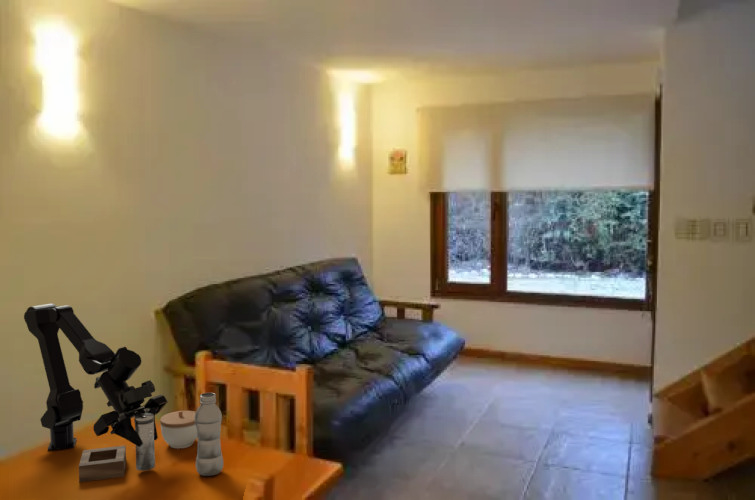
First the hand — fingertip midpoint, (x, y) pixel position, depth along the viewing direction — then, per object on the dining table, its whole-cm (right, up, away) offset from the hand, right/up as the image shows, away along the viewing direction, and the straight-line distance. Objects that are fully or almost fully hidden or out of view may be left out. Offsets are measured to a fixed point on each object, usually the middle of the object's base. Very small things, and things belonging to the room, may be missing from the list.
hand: (148, 442), depth 158 cm
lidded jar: (+2, -6, +19) cm, 20 cm away
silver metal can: (-1, -7, +1) cm, 7 cm away
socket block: (-12, -8, +2) cm, 14 cm away
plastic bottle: (+15, -8, +1) cm, 17 cm away
